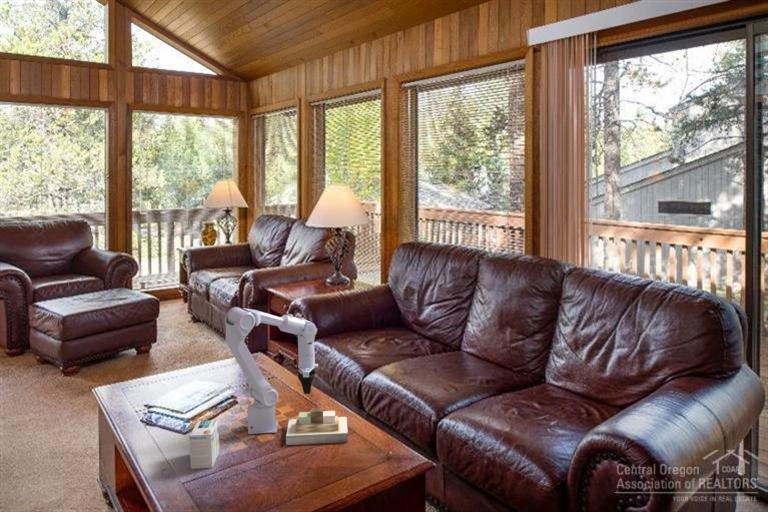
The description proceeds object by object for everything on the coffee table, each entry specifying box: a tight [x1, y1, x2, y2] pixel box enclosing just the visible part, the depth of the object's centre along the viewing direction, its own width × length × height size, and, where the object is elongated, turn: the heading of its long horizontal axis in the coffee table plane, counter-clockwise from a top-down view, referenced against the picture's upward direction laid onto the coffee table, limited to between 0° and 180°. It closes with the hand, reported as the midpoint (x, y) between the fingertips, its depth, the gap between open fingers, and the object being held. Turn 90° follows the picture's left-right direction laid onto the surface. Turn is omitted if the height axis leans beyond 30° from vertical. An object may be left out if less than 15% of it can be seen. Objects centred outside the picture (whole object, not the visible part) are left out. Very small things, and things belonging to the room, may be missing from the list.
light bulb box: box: [188, 419, 220, 469], centre depth 177 cm, size 11×7×11 cm, turn 5°
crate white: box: [323, 410, 336, 423], centre depth 194 cm, size 4×4×2 cm
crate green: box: [298, 411, 311, 424], centre depth 193 cm, size 4×4×2 cm
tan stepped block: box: [296, 407, 339, 432], centre depth 194 cm, size 14×7×6 cm, turn 95°
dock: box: [285, 416, 349, 446], centre depth 194 cm, size 20×14×3 cm
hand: (307, 389), depth 208 cm, fingers open, 7 cm apart
